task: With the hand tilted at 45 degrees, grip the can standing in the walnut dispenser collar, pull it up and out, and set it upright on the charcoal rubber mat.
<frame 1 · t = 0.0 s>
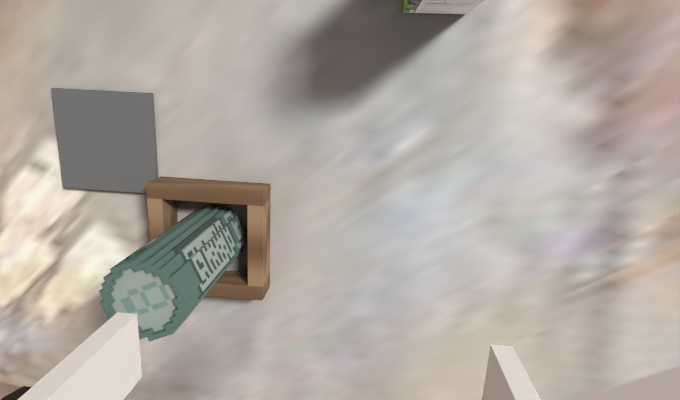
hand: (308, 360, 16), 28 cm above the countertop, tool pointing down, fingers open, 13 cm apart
can: (217, 232, 45), resting in dispenser collar
dispenser collar: (216, 233, 45), on the countertop
mat: (108, 141, 44), on the countertop
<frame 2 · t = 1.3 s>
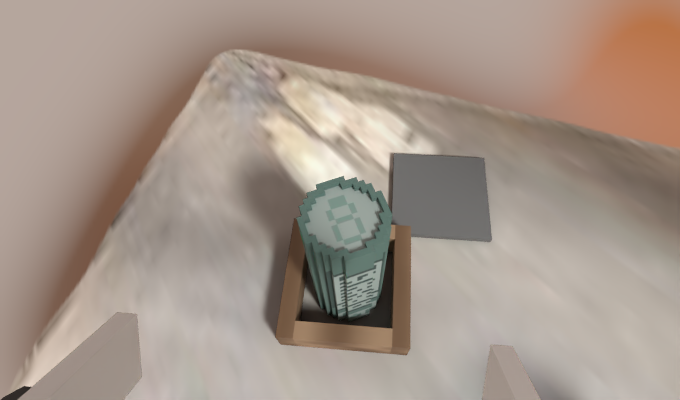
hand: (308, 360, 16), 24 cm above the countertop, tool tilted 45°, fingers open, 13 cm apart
can: (347, 289, 42), resting in dispenser collar
dispenser collar: (347, 288, 42), on the countertop
mat: (438, 196, 46), on the countertop
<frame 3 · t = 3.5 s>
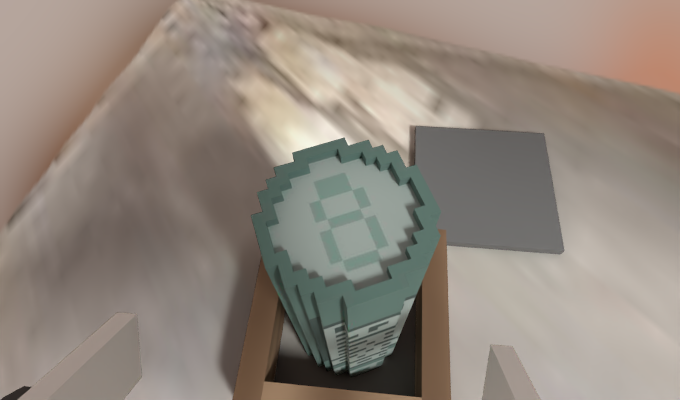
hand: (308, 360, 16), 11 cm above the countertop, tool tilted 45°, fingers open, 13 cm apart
can: (349, 324, 28), resting in dispenser collar
dispenser collar: (349, 323, 27), on the countertop
mat: (481, 187, 32), on the countertop
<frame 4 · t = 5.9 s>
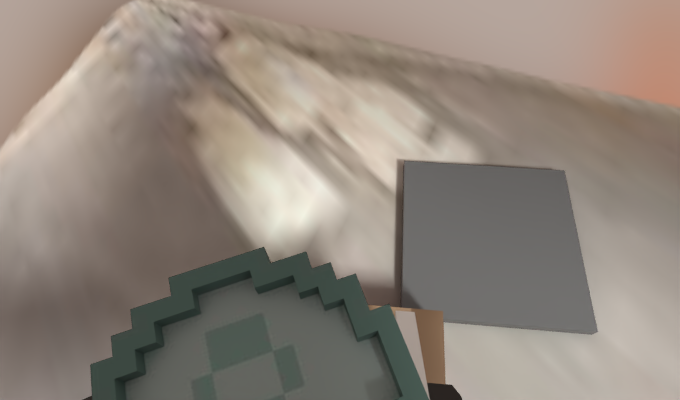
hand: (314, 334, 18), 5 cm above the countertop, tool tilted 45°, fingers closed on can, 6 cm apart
mat: (487, 241, 25), on the countertop
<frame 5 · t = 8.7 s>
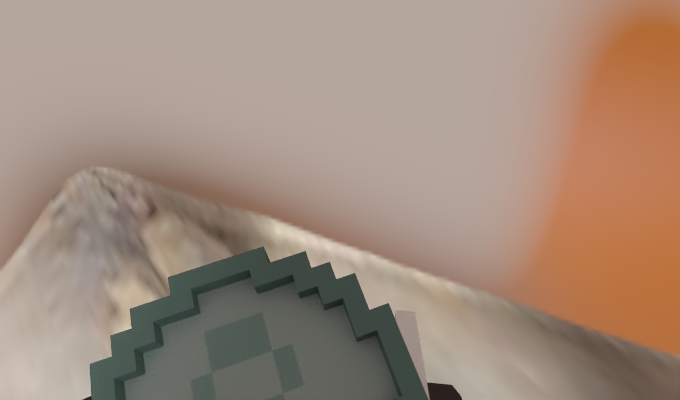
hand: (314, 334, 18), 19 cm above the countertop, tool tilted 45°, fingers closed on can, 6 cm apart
when the fingers open (7 cm above the countertop, at t = 11.8 s): can drops 1 cm, resting on mat.
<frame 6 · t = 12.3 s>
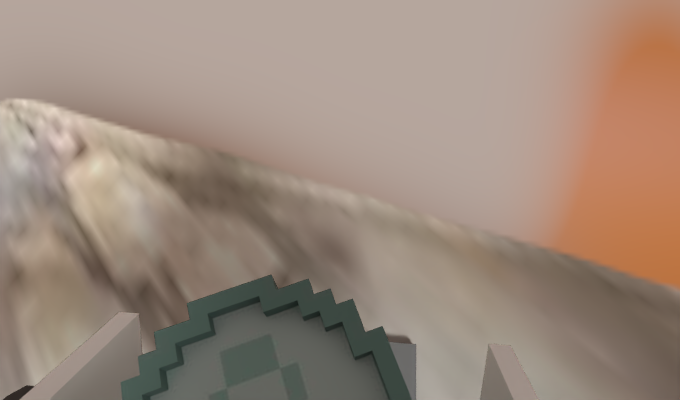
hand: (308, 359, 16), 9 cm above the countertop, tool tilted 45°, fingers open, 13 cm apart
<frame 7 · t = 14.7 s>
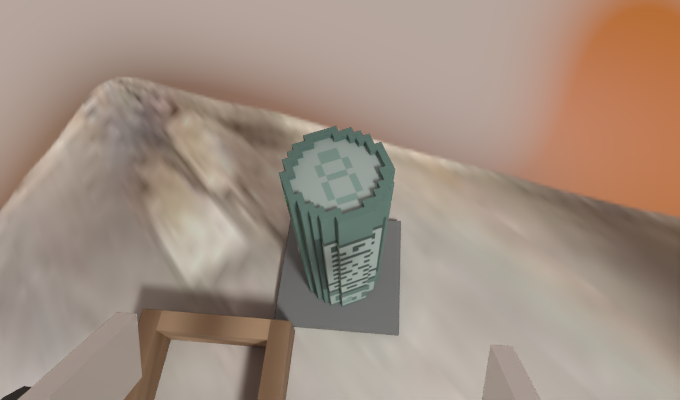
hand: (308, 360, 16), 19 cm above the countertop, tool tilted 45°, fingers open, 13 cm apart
can: (341, 270, 37), resting on mat
mat: (341, 271, 37), on the countertop
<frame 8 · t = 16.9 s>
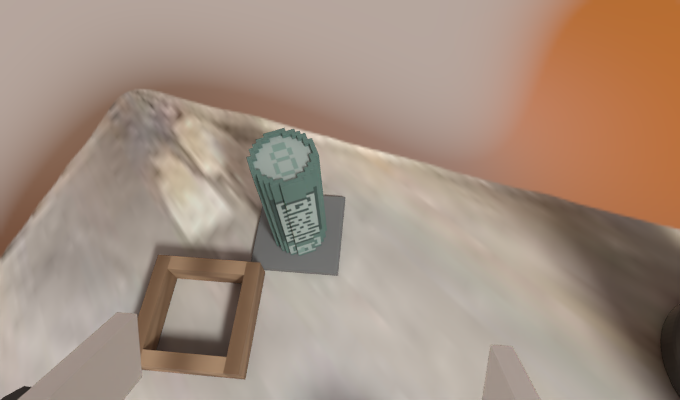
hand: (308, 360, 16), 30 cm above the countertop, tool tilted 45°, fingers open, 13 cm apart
can: (300, 231, 51), resting on mat
dispenser collar: (204, 318, 47), on the countertop
mat: (300, 232, 51), on the countertop
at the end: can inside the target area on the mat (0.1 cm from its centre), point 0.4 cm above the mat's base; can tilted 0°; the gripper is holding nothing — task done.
